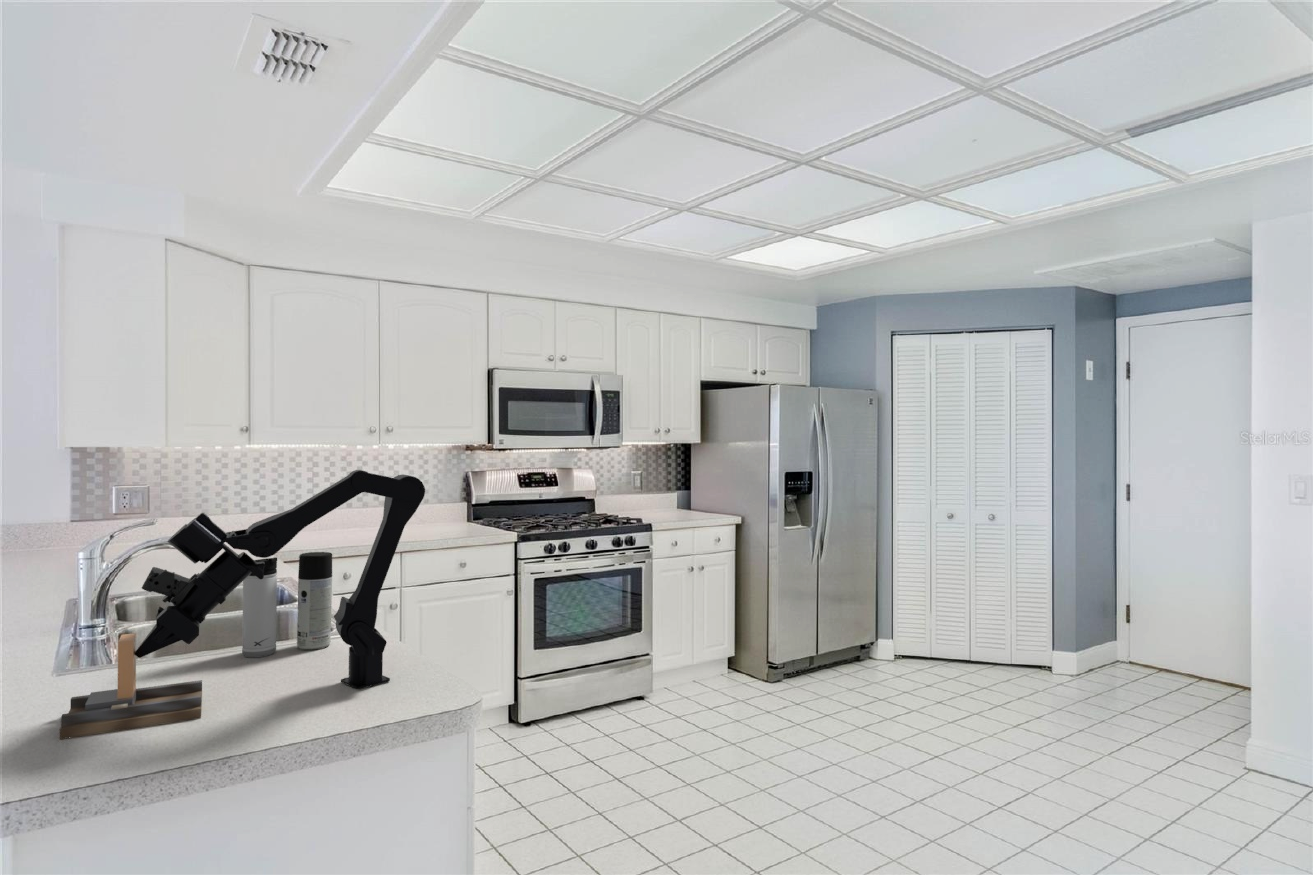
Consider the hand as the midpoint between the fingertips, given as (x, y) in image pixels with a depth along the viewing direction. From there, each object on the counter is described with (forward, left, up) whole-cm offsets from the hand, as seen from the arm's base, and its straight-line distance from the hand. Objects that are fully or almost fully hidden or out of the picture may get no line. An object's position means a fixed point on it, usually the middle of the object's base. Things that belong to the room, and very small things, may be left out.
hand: (136, 655), depth 122 cm
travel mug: (+21, -28, -10) cm, 36 cm away
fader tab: (+1, +3, -8) cm, 9 cm away
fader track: (0, 0, -10) cm, 10 cm away
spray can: (+18, -38, -10) cm, 43 cm away
